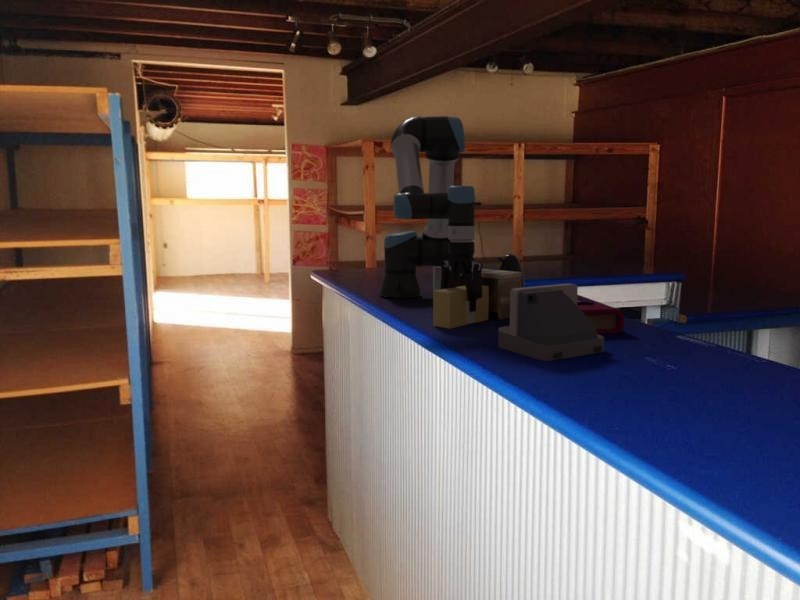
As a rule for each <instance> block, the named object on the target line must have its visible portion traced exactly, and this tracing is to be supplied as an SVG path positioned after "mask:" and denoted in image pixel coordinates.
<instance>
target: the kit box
mask: <svg viewBox="0 0 800 600" xmlns="http://www.w3.org/2000/svg"><path fill="white" fill-rule="evenodd" d="M432 298H433V299H432V305H433V306H432V317H433V318H432V326H433V327H437V328H438V327H439V328H442V329H443V328H444V329H450V330H451V329H454V328H458V327H463V326H468V325H471V324H475V323H480V322H484V321H485V322H486V321H488V320H489V314H490V312H489V286H482V298H479V299H477V300H476V311H474V322H473V323H466V301H467V299H468V294H467V290H466V286H460V287H454V288H448V289H441V290H435V291H433V290H432Z"/></svg>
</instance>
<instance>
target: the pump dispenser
mask: <svg viewBox="0 0 800 600" xmlns="http://www.w3.org/2000/svg"><path fill="white" fill-rule="evenodd" d="M497 260H498V261H499V262H500V263H499V267H498V269H497V270H503V271H515V272H522V279H521V288H523V287H525V279H524V272H523V268H522V265H521V263H520V260H519V258H518V257H517V255H515V254H512V253H509V254H507V255H504V257H500V256H499V257H498V256H497Z"/></svg>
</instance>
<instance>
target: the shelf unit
mask: <svg viewBox="0 0 800 600" xmlns="http://www.w3.org/2000/svg"><path fill="white" fill-rule="evenodd" d="M471 269H472V268H471ZM450 270H451V269H450ZM522 272H523V271H522ZM522 272H515V271H503V270H498V269H490V268H482V271H481V278H482V286H489V313H497V320H506V319H510V291H511V289H513V288H521V279H522ZM467 274H468V273H467ZM472 274H473V269H472ZM472 278H473V275H472ZM460 286H465V282H464V278H463V277H462V274H460V275H459V276H458V280H457V284H456V287H460Z"/></svg>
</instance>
